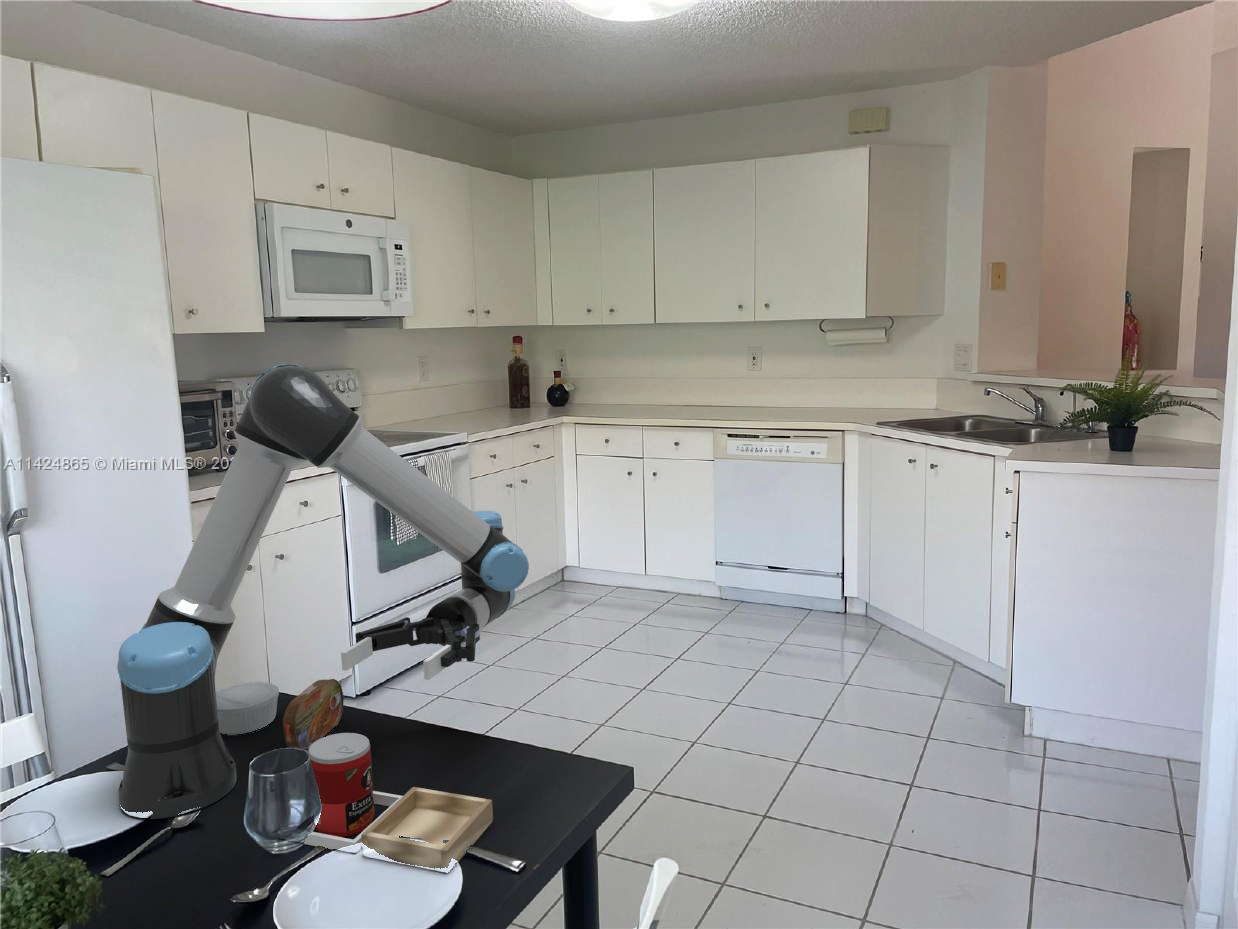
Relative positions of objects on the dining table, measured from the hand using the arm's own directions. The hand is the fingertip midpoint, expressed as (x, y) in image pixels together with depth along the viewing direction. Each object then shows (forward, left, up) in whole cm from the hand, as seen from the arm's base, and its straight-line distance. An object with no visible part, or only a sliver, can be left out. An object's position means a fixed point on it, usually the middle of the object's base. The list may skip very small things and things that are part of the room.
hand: (384, 666), depth 124 cm
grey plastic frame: (0, -11, -18) cm, 21 cm away
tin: (-20, +9, -18) cm, 29 cm away
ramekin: (-35, +10, -18) cm, 41 cm away
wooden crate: (+13, -11, -18) cm, 24 cm away
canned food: (0, -11, -18) cm, 21 cm away
